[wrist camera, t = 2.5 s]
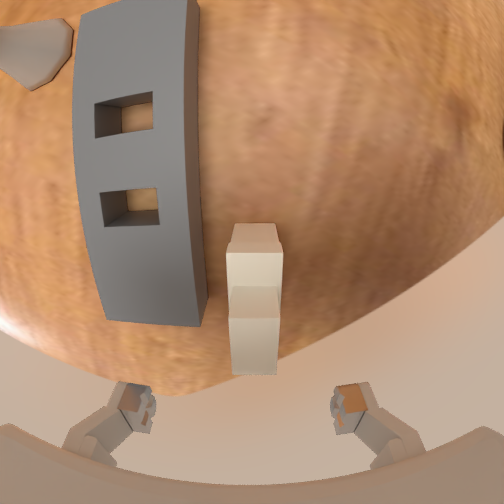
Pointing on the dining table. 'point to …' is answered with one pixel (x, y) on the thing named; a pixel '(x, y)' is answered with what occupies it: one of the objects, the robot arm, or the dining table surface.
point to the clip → (254, 297)
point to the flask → (35, 51)
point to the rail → (141, 159)
